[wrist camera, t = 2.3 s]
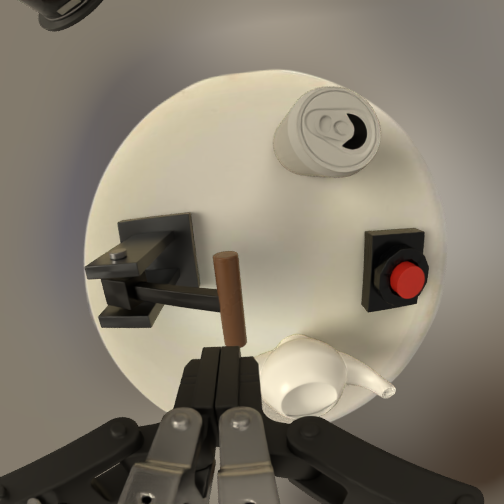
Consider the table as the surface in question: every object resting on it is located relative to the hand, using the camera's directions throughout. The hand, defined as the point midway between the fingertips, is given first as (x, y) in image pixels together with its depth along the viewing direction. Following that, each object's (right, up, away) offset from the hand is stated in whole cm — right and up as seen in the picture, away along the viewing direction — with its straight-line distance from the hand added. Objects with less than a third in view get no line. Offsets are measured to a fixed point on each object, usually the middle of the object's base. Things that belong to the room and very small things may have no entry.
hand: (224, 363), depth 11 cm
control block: (+17, +3, +20) cm, 27 cm away
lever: (-4, +2, +9) cm, 10 cm away
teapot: (+7, -8, +23) cm, 25 cm away
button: (+18, +2, +16) cm, 24 cm away
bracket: (-9, +5, +19) cm, 21 cm away
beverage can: (+6, +16, +16) cm, 23 cm away
